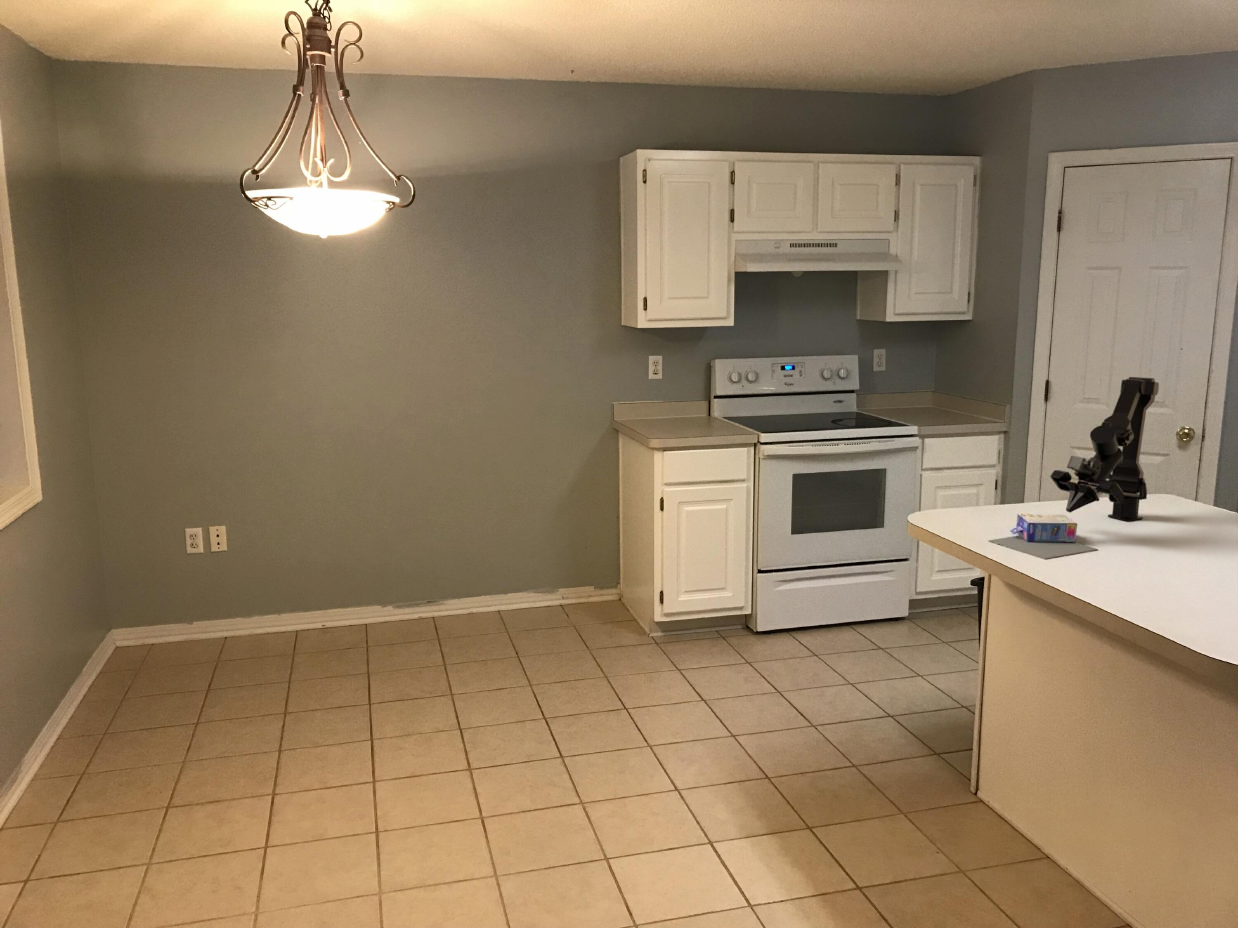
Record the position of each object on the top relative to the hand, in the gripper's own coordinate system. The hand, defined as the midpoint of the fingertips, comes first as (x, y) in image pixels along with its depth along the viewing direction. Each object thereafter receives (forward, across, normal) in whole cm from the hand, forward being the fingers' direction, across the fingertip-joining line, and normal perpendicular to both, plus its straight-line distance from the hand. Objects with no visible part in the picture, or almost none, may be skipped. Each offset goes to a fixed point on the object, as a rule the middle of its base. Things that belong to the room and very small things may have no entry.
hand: (1067, 511), depth 251 cm
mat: (+12, 0, 0) cm, 12 cm away
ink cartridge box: (+2, -1, +6) cm, 6 cm away
